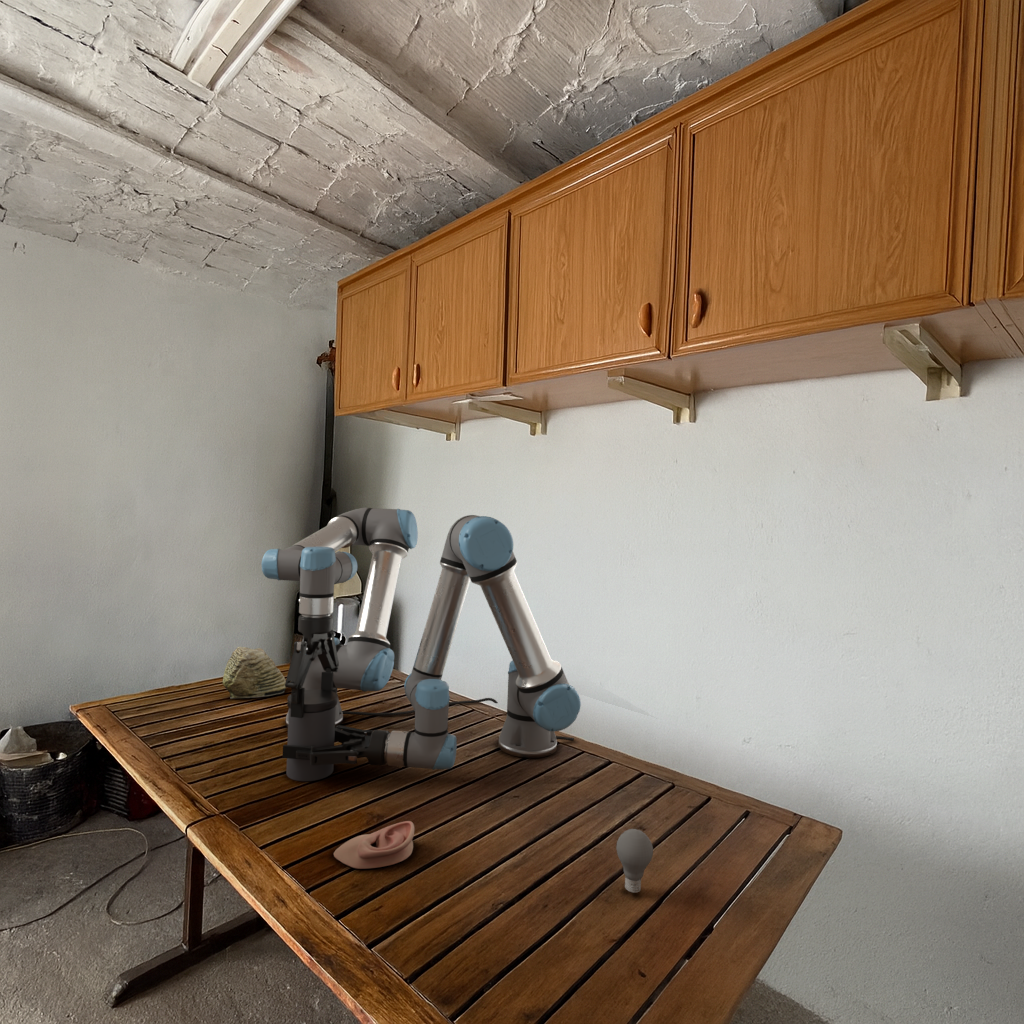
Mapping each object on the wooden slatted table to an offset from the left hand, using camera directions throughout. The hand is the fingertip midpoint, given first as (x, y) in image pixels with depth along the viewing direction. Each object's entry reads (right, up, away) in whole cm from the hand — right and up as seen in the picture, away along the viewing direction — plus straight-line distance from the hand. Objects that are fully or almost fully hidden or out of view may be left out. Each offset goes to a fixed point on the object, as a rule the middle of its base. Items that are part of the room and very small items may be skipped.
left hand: (312, 708), depth 145 cm
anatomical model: (+21, -16, -32) cm, 41 cm away
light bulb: (+66, -18, -40) cm, 79 cm away
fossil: (-35, -12, +53) cm, 64 cm away
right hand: (-5, -8, 0) cm, 9 cm away
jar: (-1, -15, 0) cm, 15 cm away
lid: (0, +2, 0) cm, 2 cm away
